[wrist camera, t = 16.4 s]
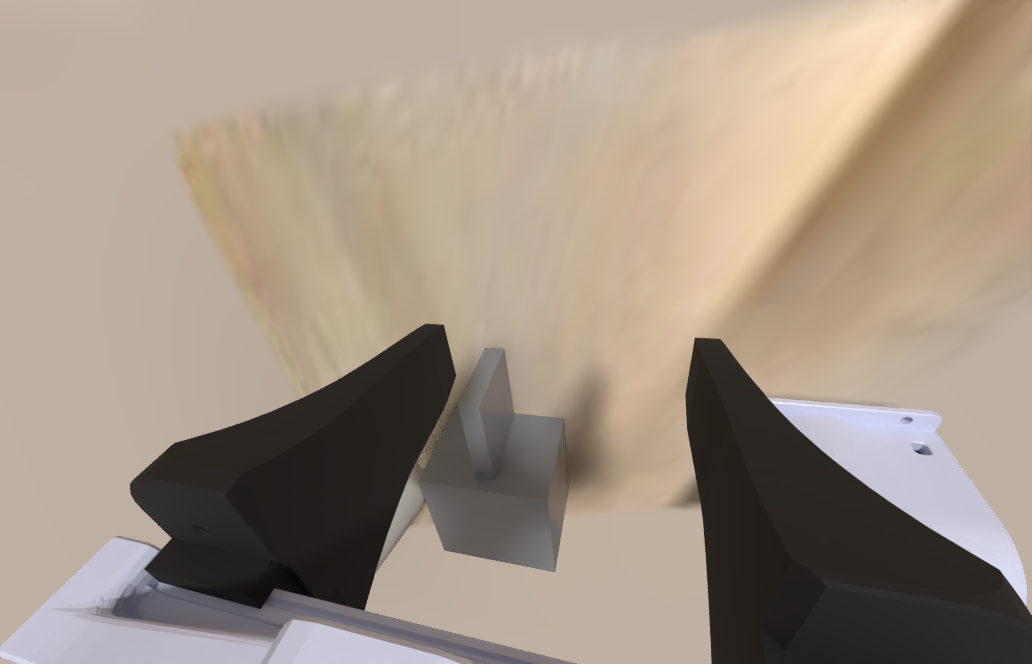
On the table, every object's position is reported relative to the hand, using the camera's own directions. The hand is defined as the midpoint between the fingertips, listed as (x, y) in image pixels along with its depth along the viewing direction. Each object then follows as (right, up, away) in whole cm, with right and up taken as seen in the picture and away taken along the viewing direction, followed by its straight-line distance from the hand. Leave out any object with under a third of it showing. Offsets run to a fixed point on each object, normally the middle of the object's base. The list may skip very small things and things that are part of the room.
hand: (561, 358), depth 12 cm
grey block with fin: (-2, -6, +18) cm, 19 cm away
